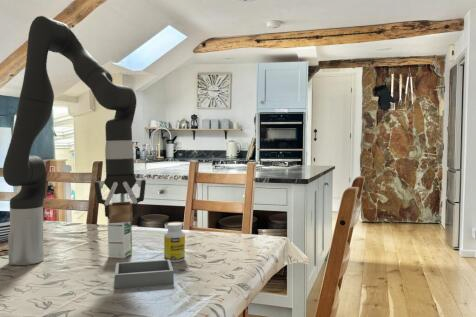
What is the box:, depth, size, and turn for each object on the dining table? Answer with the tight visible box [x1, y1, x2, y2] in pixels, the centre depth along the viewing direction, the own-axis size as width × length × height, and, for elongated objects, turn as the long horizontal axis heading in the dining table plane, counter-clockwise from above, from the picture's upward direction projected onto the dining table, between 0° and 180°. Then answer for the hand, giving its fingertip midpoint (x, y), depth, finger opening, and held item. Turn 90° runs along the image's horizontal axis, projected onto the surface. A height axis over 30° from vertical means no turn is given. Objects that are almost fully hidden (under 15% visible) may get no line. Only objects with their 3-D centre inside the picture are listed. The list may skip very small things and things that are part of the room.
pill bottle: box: [163, 222, 186, 263], centre depth 132 cm, size 6×6×12 cm
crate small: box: [109, 200, 134, 223], centre depth 115 cm, size 6×8×4 cm
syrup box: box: [107, 218, 133, 259], centre depth 137 cm, size 6×6×14 cm
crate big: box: [114, 259, 174, 289], centre depth 114 cm, size 15×11×4 cm
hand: (121, 217), depth 115 cm, fingers closed on crate small, 6 cm apart
